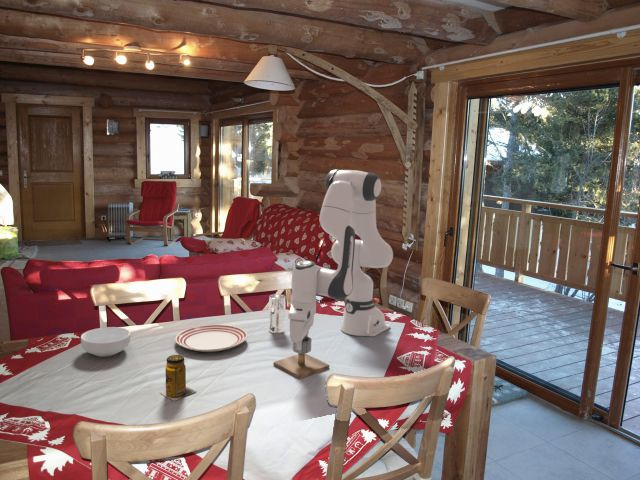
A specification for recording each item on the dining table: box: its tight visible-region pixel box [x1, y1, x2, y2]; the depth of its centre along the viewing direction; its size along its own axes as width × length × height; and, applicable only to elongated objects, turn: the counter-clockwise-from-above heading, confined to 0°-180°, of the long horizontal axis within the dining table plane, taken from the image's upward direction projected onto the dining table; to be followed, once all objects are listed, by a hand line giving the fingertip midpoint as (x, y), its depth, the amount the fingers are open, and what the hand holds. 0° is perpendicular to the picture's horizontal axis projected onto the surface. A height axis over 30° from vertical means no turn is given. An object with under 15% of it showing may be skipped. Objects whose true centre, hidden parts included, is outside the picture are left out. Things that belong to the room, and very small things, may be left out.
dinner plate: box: [174, 324, 248, 353], centre depth 209 cm, size 27×27×3 cm
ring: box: [292, 335, 313, 354], centre depth 190 cm, size 6×6×4 cm
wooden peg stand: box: [272, 341, 330, 380], centre depth 190 cm, size 14×14×9 cm
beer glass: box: [268, 293, 286, 334], centre depth 224 cm, size 7×7×15 cm
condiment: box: [160, 354, 197, 402], centre depth 168 cm, size 7×8×12 cm
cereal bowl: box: [80, 326, 131, 358], centre depth 196 cm, size 17×17×7 cm
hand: (302, 345), depth 190 cm, fingers closed on ring, 6 cm apart
